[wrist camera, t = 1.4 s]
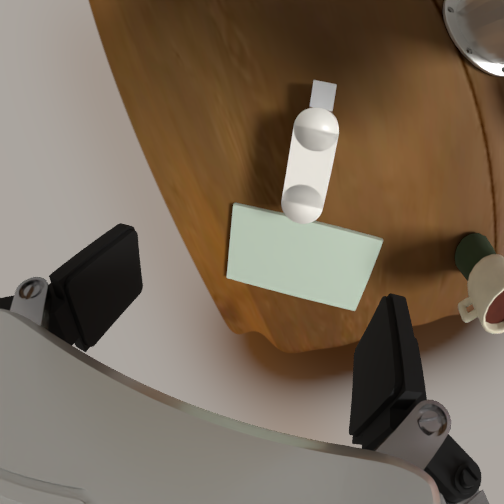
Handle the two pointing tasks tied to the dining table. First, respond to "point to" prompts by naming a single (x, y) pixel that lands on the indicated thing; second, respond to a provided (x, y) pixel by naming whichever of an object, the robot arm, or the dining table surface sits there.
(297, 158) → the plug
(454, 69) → the dining table surface
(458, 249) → the character mug
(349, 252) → the green board
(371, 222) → the dining table surface
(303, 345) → the dining table surface
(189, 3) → the dining table surface
